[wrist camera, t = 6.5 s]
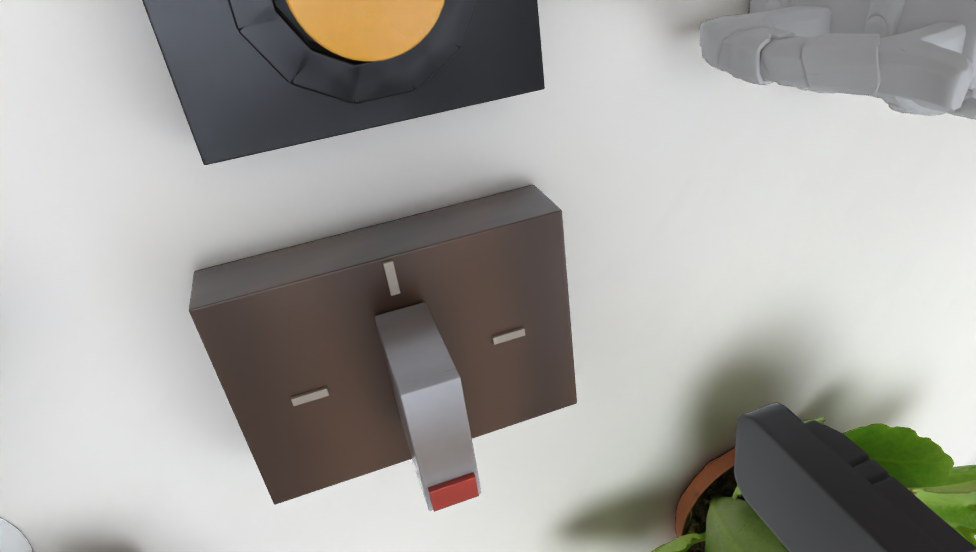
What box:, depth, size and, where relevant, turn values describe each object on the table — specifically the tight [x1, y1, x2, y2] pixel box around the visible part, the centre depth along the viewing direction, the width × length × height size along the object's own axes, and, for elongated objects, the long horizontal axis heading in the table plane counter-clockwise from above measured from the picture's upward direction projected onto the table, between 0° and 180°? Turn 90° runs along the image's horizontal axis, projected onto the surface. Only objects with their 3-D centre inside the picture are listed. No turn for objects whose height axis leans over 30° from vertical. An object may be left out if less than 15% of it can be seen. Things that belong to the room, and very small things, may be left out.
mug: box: [699, 0, 976, 119], centre depth 23 cm, size 8×12×12 cm, turn 101°
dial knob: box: [375, 303, 481, 511], centre depth 24 cm, size 6×2×5 cm, turn 7°
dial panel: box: [189, 185, 577, 504], centre depth 28 cm, size 14×10×3 cm
